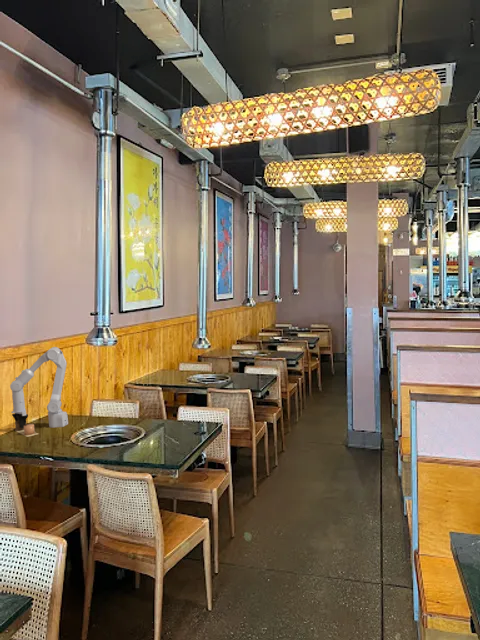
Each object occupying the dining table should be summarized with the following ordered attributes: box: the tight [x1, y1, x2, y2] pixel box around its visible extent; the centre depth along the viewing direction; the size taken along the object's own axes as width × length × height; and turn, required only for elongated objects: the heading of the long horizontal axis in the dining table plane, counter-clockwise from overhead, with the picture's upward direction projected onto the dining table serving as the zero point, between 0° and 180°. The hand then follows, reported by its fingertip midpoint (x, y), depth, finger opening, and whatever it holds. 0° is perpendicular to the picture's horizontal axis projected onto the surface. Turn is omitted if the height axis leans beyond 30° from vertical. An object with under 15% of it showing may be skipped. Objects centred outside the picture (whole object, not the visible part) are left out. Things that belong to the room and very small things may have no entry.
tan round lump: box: [23, 423, 36, 436], centre depth 254 cm, size 5×5×4 cm
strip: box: [14, 421, 39, 438], centre depth 258 cm, size 20×6×6 cm, turn 42°
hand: (21, 427), depth 263 cm, fingers open, 5 cm apart
